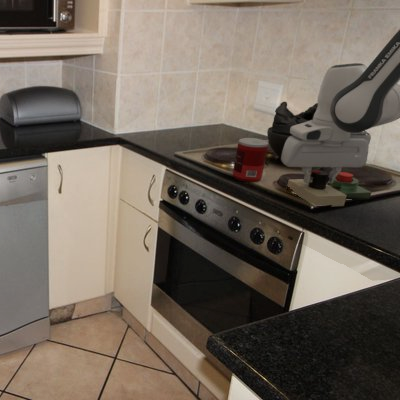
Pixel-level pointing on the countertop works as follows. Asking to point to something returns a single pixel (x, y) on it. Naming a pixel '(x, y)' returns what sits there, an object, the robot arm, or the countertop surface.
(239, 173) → the canned food
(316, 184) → the oven knob
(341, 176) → the button
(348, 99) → the robot arm
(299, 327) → the countertop surface
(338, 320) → the countertop surface
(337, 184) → the button housing
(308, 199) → the panel
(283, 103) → the coal bowl
